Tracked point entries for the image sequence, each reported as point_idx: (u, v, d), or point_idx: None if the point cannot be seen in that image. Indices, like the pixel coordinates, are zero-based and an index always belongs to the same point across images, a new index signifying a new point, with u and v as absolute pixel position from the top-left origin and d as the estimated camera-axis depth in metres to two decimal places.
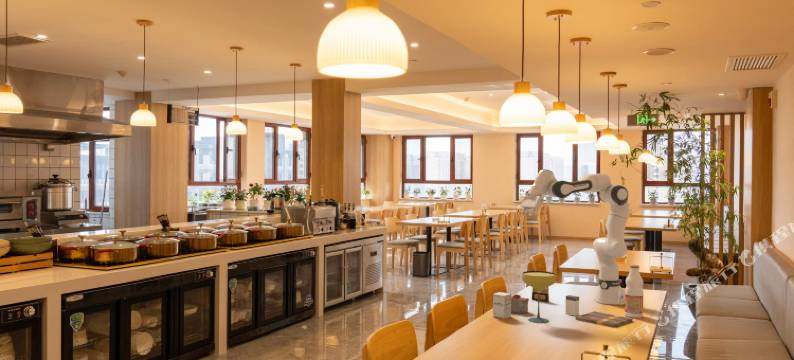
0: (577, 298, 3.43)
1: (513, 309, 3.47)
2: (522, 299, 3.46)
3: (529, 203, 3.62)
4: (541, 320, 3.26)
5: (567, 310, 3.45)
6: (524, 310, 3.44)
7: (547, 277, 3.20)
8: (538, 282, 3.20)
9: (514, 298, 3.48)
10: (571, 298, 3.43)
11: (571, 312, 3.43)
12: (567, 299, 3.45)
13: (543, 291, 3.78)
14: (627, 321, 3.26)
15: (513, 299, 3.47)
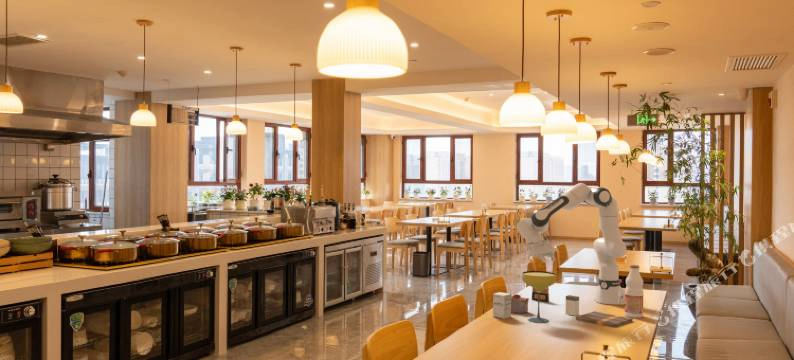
0: (577, 298, 3.43)
1: (513, 309, 3.47)
2: (522, 299, 3.46)
3: None
4: (541, 320, 3.26)
5: (567, 310, 3.45)
6: (524, 310, 3.44)
7: (547, 277, 3.20)
8: (538, 282, 3.20)
9: (514, 298, 3.48)
10: (571, 298, 3.43)
11: (571, 312, 3.43)
12: (567, 299, 3.45)
13: (543, 291, 3.78)
14: (627, 321, 3.26)
15: (513, 299, 3.47)
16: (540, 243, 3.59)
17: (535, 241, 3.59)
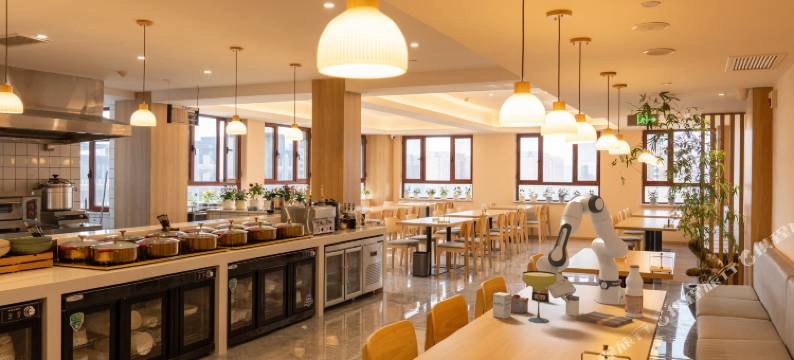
0: (577, 298, 3.43)
1: (513, 309, 3.47)
2: (522, 299, 3.46)
3: None
4: (541, 320, 3.26)
5: (567, 310, 3.45)
6: (524, 310, 3.44)
7: (547, 277, 3.20)
8: (538, 282, 3.20)
9: (514, 298, 3.48)
10: (571, 298, 3.43)
11: (571, 312, 3.43)
12: None
13: (543, 291, 3.78)
14: (627, 321, 3.26)
15: (513, 299, 3.48)
16: (560, 283, 3.49)
17: None
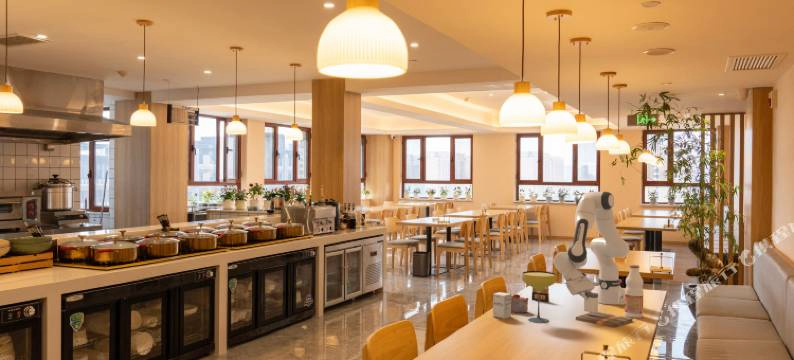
0: (596, 295, 3.34)
1: (513, 309, 3.47)
2: (522, 299, 3.46)
3: None
4: (541, 320, 3.26)
5: (586, 307, 3.37)
6: (524, 310, 3.44)
7: (547, 277, 3.20)
8: (538, 282, 3.20)
9: (514, 298, 3.48)
10: (590, 295, 3.35)
11: (590, 309, 3.35)
12: None
13: (543, 291, 3.78)
14: (627, 321, 3.26)
15: (513, 299, 3.48)
16: (579, 279, 3.40)
17: (573, 277, 3.40)
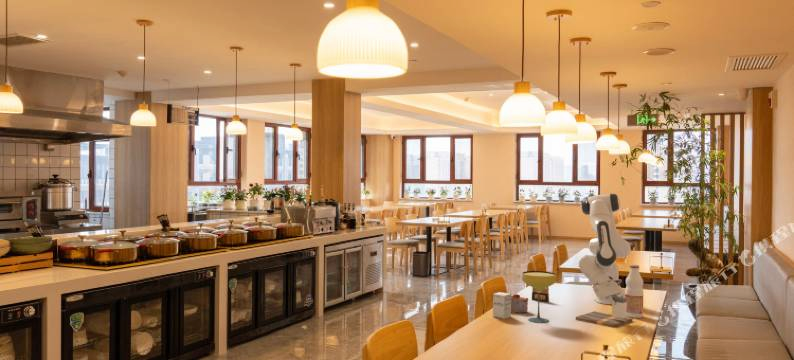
0: (624, 300, 3.23)
1: (513, 309, 3.47)
2: (522, 299, 3.46)
3: None
4: (541, 320, 3.26)
5: (614, 312, 3.25)
6: (524, 310, 3.45)
7: (547, 277, 3.20)
8: (538, 282, 3.20)
9: (514, 298, 3.48)
10: (618, 300, 3.23)
11: (619, 315, 3.23)
12: None
13: (543, 291, 3.78)
14: (627, 321, 3.26)
15: (513, 299, 3.48)
16: (606, 283, 3.29)
17: (601, 281, 3.28)
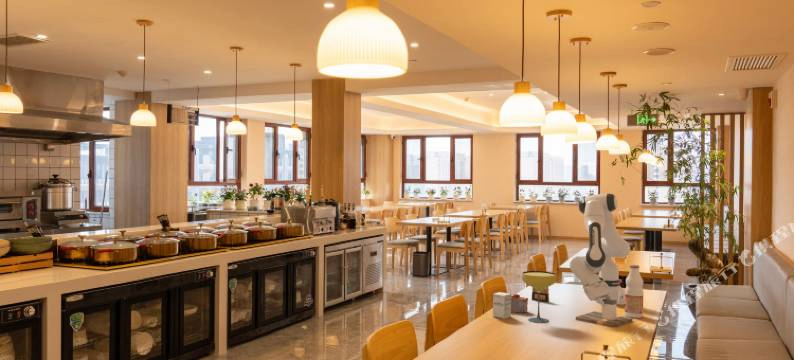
0: (614, 302, 3.27)
1: (513, 309, 3.48)
2: (522, 299, 3.47)
3: None
4: (541, 320, 3.26)
5: (604, 314, 3.29)
6: (524, 310, 3.45)
7: (547, 277, 3.20)
8: (538, 282, 3.20)
9: (514, 298, 3.48)
10: (608, 302, 3.27)
11: (609, 316, 3.27)
12: None
13: (543, 291, 3.78)
14: (627, 321, 3.26)
15: (513, 299, 3.48)
16: (597, 284, 3.33)
17: (591, 282, 3.32)
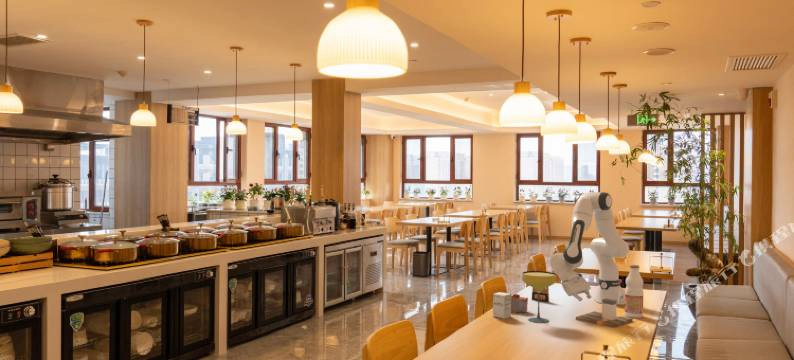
0: (614, 302, 3.27)
1: (513, 309, 3.48)
2: (522, 299, 3.47)
3: None
4: (541, 320, 3.26)
5: (604, 314, 3.29)
6: (524, 310, 3.45)
7: (547, 277, 3.20)
8: (538, 282, 3.20)
9: (514, 298, 3.48)
10: (608, 302, 3.27)
11: (609, 316, 3.27)
12: (604, 303, 3.29)
13: (543, 291, 3.78)
14: (627, 321, 3.26)
15: (513, 299, 3.48)
16: (575, 280, 3.42)
17: (570, 278, 3.42)
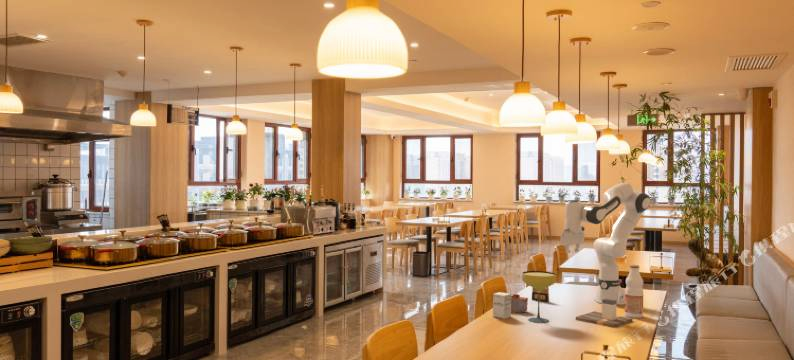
0: (614, 302, 3.27)
1: (513, 309, 3.48)
2: (522, 299, 3.47)
3: None
4: (541, 320, 3.26)
5: (604, 314, 3.29)
6: (524, 309, 3.45)
7: (547, 277, 3.20)
8: (538, 282, 3.20)
9: (514, 298, 3.48)
10: (608, 302, 3.27)
11: (609, 316, 3.27)
12: (604, 303, 3.29)
13: (543, 291, 3.78)
14: (627, 321, 3.26)
15: (513, 299, 3.48)
16: (575, 234, 3.52)
17: (572, 230, 3.51)
